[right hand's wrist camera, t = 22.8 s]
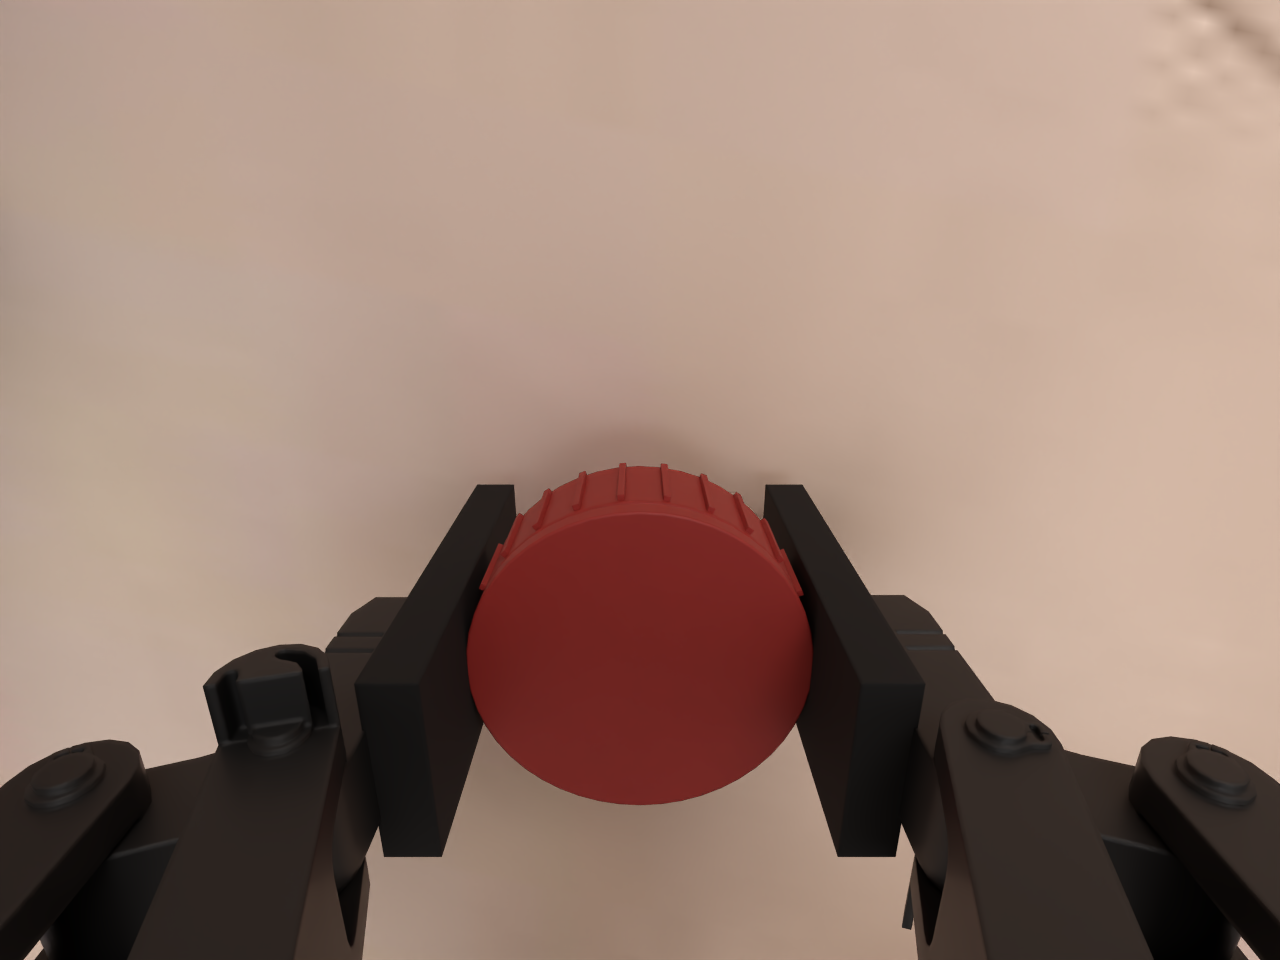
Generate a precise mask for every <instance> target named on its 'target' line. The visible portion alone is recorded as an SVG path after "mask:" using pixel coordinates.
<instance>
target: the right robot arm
mask: <svg viewBox="0 0 1280 960" xmlns="http://www.w3.org/2000/svg"><path fill="white" fill-rule="evenodd" d="M515 518H516V508H515V493H514V485H477V486H476V488H475V489H474V491H473V492H472V494H471V496H470V497H469V499H468V500H467V502H466V504H465V505H464V507H463V509H462V510H461V512H460V513H459V515H458V517H457V518H456V520H455V521H454V523H453V525H452V526H451V528H450V529H449V531H448V533H447V534H446V536H445V538H444V539H443V541H442V542H441V544H440V546H439V547H438V549H437V550H436V552H435V554H434V555H433V557H432V559H431V560H430V562H429V563H428V565H427V567H426V568H425V570H424V571H423V573H422V575H421V576H420V578H419V580H418V581H417V583H416V584H415V586H414V588H413V589H412V591H411V592H410V594H409V596H408V597H376V598H374V599H373V600H371V601H370V602H368V603H367V604H365V605H364V606H362V607H361V608H359V609H358V610H356V611H355V612H353V613H352V614H351V615H350V616H349V618H348V619H347V620H346V622H345V623H344V624H343V626H342V627H341V628H340V630H339V631H338V633H337V637H334V638H333V639H332V641H331V642H330V643H329V645H328V646H327V647H326V651H325V653H324V652H322V651H321V650H320V649H319V648H316V647H312V646H308V645H303V644H289V645H277V646H272V647H268V648H264V649H259V650H255V651H253V652H251V653H248V654H246V655H243V656H241V657H239V658H236V659H234V660H232V661H231V662H229V663H228V664H226V665H225V666H223V667H222V668H220V669H219V670H217V671H216V672H214V673H213V675H212V676H211V677H210V678H209V679H208V681H207V682H206V683H205V684H204V685H203V689H204V693H205V697H206V700H207V704H208V708H209V712H210V715H211V719H212V723H213V727H214V730H215V734H216V738H217V741H218V748H217V750H216V752H215V753H213V754H210V755H206V756H203V757H199V758H195V759H190V760H186V761H181V762H177V763H172V764H167V765H163V766H158V767H154V768H149V769H145V768H144V765H143V761H142V758H141V755H140V752H139V750H138V749H136V748H135V747H134V746H133V745H131V744H130V743H129V742H124V741H116V740H103V741H95V742H88V743H83V744H80V745H76V746H72V747H71V748H66V749H63V750H60V751H58V752H55V753H53V754H52V755H50V756H48V757H46V758H44V759H42V760H40V761H38V762H36V763H34V764H32V765H30V766H28V767H27V768H26V769H24V770H23V771H22V772H20V773H19V774H17V775H16V776H15V777H13V778H12V779H11V780H9V781H8V782H7V783H5V784H4V785H3V786H2V787H1V788H0V960H24V958H25V957H26V956H27V955H28V954H29V952H30V951H31V950H32V949H33V947H34V946H35V945H36V944H37V942H38V941H39V940H40V941H41V943H42V946H43V950H42V951H41V952H40V953H39V955H38V956H37V957H36V958H35V960H362V955H363V945H364V936H365V927H366V918H367V908H368V899H369V890H370V881H369V874H368V867H367V862H366V857H365V856H366V853H367V851H368V849H369V846H370V844H371V842H372V839H373V837H374V835H375V833H376V830H377V828H378V826H379V831H380V836H381V842H382V848H383V854H384V857H442V855H443V851H444V848H445V845H446V842H447V838H448V835H449V832H450V829H451V826H452V822H453V819H454V816H455V813H456V810H457V806H458V803H459V800H460V797H461V794H462V790H463V787H464V784H465V781H466V778H467V774H468V771H469V768H470V765H471V762H472V758H473V755H474V752H475V749H476V746H477V742H478V739H479V736H480V733H481V729H482V726H483V723H484V722H483V720H482V718H481V716H480V714H479V712H478V710H477V708H476V705H475V702H474V699H473V696H472V694H471V691H470V685H469V676H468V666H467V655H466V649H467V641H468V633H469V629H470V626H471V622H472V618H473V615H474V612H475V610H476V608H477V605H478V603H479V601H480V598H481V596H482V593H483V590H481V589H479V587H480V584H481V582H482V580H483V578H484V575H485V573H486V571H487V568H488V566H489V564H490V562H491V559H492V557H493V555H494V553H495V550H496V548H497V546H498V544H499V543H500V544H502V545H504V543H505V541H506V539H507V537H508V535H509V532H510V530H511V528H512V525H513V523H514V521H515ZM763 518H765V519H766V520H767V522H768V524H769V526H770V528H771V531H772V533H773V535H774V538H775V540H776V542H777V545H778V547H779V549H780V550H781V549H784V551H785V553H786V555H787V557H788V560H789V562H790V564H791V566H792V569H793V571H794V573H795V576H796V578H797V580H798V582H799V585H800V587H801V589H802V591H803V594H804V595H802V596H799V598H800V601H801V603H802V605H803V608H804V610H805V612H806V616H807V619H808V622H809V626H810V629H811V634H812V642H813V661H812V672H811V681H810V689H809V693H808V696H807V699H806V702H805V705H804V708H803V710H802V712H801V714H800V716H799V718H798V720H797V722H796V724H797V728H798V731H799V734H800V737H801V740H802V744H803V747H804V750H805V753H806V756H807V760H808V763H809V766H810V769H811V773H812V776H813V779H814V782H815V785H816V789H817V792H818V795H819V798H820V801H821V805H822V808H823V811H824V814H825V817H826V821H827V824H828V827H829V830H830V833H831V837H832V840H833V843H834V846H835V849H836V853H837V856H838V857H896V851H897V845H898V840H899V834H900V828H901V823H902V826H903V828H904V830H905V832H906V835H907V837H908V839H909V842H910V844H911V846H912V848H913V851H914V853H915V857H914V862H913V867H912V873H911V878H910V883H909V889H908V894H907V899H906V905H905V910H904V916H903V923H902V928H906V929H910V930H911V928H912V923H913V918H914V925H915V934H916V944H917V953H918V960H1248V959H1247V957H1246V956H1245V955H1244V954H1243V952H1242V951H1241V950H1240V949H1239V947H1238V946H1237V944H1238V942H1239V940H1240V937H1242V938H1243V939H1244V940H1245V942H1246V943H1247V944H1248V945H1249V946H1250V948H1251V949H1252V950H1253V951H1254V953H1255V954H1256V955H1257V956H1258V957H1259V959H1260V960H1280V784H1279V783H1278V782H1277V781H1276V780H1274V779H1273V778H1272V777H1270V776H1269V775H1268V774H1266V773H1265V772H1264V771H1262V770H1261V769H1259V768H1258V767H1257V766H1255V765H1254V764H1253V763H1251V762H1249V761H1247V760H1245V759H1243V758H1241V757H1239V756H1237V755H1235V754H1233V753H1231V752H1229V751H1228V750H1226V749H1223V748H1221V747H1218V746H1215V745H1210V744H1208V743H1205V742H1201V741H1198V740H1193V739H1186V738H1179V737H1171V736H1170V737H1163V738H1156V739H1151V740H1150V741H1149V742H1148V743H1146V744H1145V745H1144V746H1143V747H1141V750H1140V753H1139V756H1138V760H1137V763H1136V766H1131V765H1126V764H1122V763H1117V762H1113V761H1108V760H1103V759H1099V758H1094V757H1089V756H1085V755H1080V754H1077V753H1073V752H1070V751H1066V750H1064V749H1063V746H1062V744H1061V743H1060V741H1059V740H1058V739H1057V737H1056V736H1055V734H1054V733H1053V732H1052V730H1051V729H1050V728H1048V727H1047V726H1046V725H1045V724H1043V723H1042V722H1041V721H1039V720H1038V719H1037V718H1035V717H1034V716H1033V715H1031V714H1029V713H1026V712H1024V711H1022V710H1020V709H1018V708H1016V707H1014V706H1012V705H1008V704H1004V703H1001V702H997V701H995V700H994V699H993V698H992V696H991V695H990V694H989V692H988V691H987V690H986V688H985V687H984V686H983V684H982V683H981V681H980V680H979V679H978V677H977V676H976V675H975V673H974V672H973V671H972V669H971V668H970V667H969V665H968V664H967V663H966V661H965V660H964V659H963V657H962V656H961V655H960V653H959V652H958V650H955V649H954V645H953V644H952V642H951V641H950V640H949V638H948V637H947V636H946V634H943V630H942V629H941V628H940V626H939V625H938V624H937V622H936V621H935V620H934V618H933V617H932V615H931V614H930V613H929V611H927V610H926V609H924V608H923V607H921V606H920V605H918V604H917V603H915V602H914V601H912V600H911V599H909V598H908V597H906V596H905V595H870V593H869V592H868V590H867V588H866V587H865V585H864V583H863V582H862V580H861V579H860V577H859V575H858V574H857V572H856V571H855V569H854V567H853V566H852V564H851V562H850V561H849V559H848V558H847V556H846V554H845V553H844V551H843V550H842V548H841V546H840V545H839V543H838V542H837V540H836V538H835V537H834V535H833V533H832V532H831V530H830V529H829V527H828V525H827V524H826V522H825V521H824V519H823V517H822V516H821V514H820V512H819V511H818V509H817V508H816V506H815V504H814V503H813V501H812V500H811V498H810V496H809V495H808V493H807V491H806V490H805V488H804V487H803V485H766V487H765V502H764V516H763Z"/></svg>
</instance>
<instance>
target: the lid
mask: <svg viewBox="0 0 1280 960" xmlns="http://www.w3.org/2000/svg"><path fill="white" fill-rule="evenodd" d="M479 589H481V590H483V593H482V596H481V598H480V601H479V603H478V605H477V608H476V610H475V612H474V615H473V618H472V622H471V626H470V629H469V633H468V641H467V649H466V655H467V666H468V676H469V685H470V691H471V694H472V696H473V699H474V702H475V705H476V708H477V710H478V712H479V714H480V716H481V718H482V720H483V722H484V724H485V726H486V727H487V729H488V730H489V731H490V733H491V734H492V736H493V737H494V738H495V740H496V741H497V742H498V743H499V745H500V746H501V747H502V748H503V749H504V750H505V751H506V752H507V753H508V754H509V755H510V756H511V757H512V758H513V759H514V760H516V761H517V762H518V763H519V764H520V765H521V766H523V767H524V768H525V769H527V770H528V771H530V772H531V773H533V774H534V775H536V776H537V777H539V778H540V779H542V780H544V781H546V782H548V783H550V784H552V785H554V786H556V787H558V788H560V789H562V790H565V791H567V792H570V793H573V794H576V795H578V796H582V797H585V798H589V799H593V800H597V801H602V802H609V803H616V804H628V805H652V804H664V803H671V802H677V801H683V800H687V799H690V798H694V797H698V796H702V795H704V794H707V793H710V792H712V791H715V790H717V789H720V788H722V787H724V786H726V785H728V784H730V783H732V782H734V781H736V780H738V779H740V778H741V777H743V776H744V775H746V774H747V773H749V772H750V771H752V770H753V769H755V768H756V767H757V766H758V765H760V764H761V763H762V762H763V761H764V760H765V759H767V758H768V757H769V756H770V755H771V754H772V753H773V752H774V751H775V750H776V749H777V748H778V746H779V745H780V744H781V743H782V742H783V741H784V740H785V738H786V737H787V735H788V734H789V732H790V731H791V730H792V728H793V727H794V725H795V723H796V722H797V720H798V718H799V716H800V714H801V712H802V710H803V708H804V705H805V702H806V699H807V696H808V693H809V689H810V681H811V672H812V661H813V642H812V634H811V629H810V626H809V622H808V619H807V616H806V612H805V610H804V608H803V605H802V603H801V601H800V598H799V596H802V595H804V594H803V591H802V589H801V587H800V585H799V582H798V580H797V578H796V576H795V573H794V571H793V569H792V566H791V564H790V562H789V560H788V557H787V555H786V553H785V551H784V549H781V550H780V549H779V547H778V545H777V542H776V540H775V538H774V535H773V533H772V531H771V528H770V526H769V524H768V522H767V520H766V519H765V518H763V519H762V520H760V519H759V518H758V517H757V516H756V515H755V514H754V513H753V512H752V510H751V509H750V508H748V507H747V506H746V505H745V504H744V502H743V499H742V497H741V495H740V494H738V493H737V492H736V493H735V494H734V495H732V494H731V493H729V492H727V491H726V490H724V489H723V488H721V487H720V486H718V485H716V484H713V483H711V482H709V481H708V478H707V475H704V474H701V475H700V477H697V476H694V475H691V474H688V473H685V472H682V471H677V470H671V469H668V465H667V464H661V467H644V466H635V467H626V463H620V464H619V468H614V469H608V470H603V471H598V472H595V473H592V474H589V475H587V474H586V471H584V472H581V473H579V478H577V479H575V480H573V481H571V482H569V483H567V484H564V485H562V486H560V487H559V488H557V489H555V490H554V491H551V490H550V489H547V490H546V491H544V494H543V496H542V499H541V500H540V501H538V502H537V503H536V504H535V505H534V506H533V507H532V508H530V509H529V510H528V511H527V512H526V513H525V515H524V516H523V515H522V514H520V513H519V514H518V515H517V516H516V518H515V521H514V523H513V525H512V528H511V530H510V532H509V535H508V537H507V539H506V541H505V543H504V545H502V544H500V543H499V544H498V546H497V548H496V550H495V553H494V555H493V557H492V559H491V562H490V564H489V566H488V568H487V571H486V573H485V575H484V578H483V580H482V582H481V584H480V587H479Z"/></svg>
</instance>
